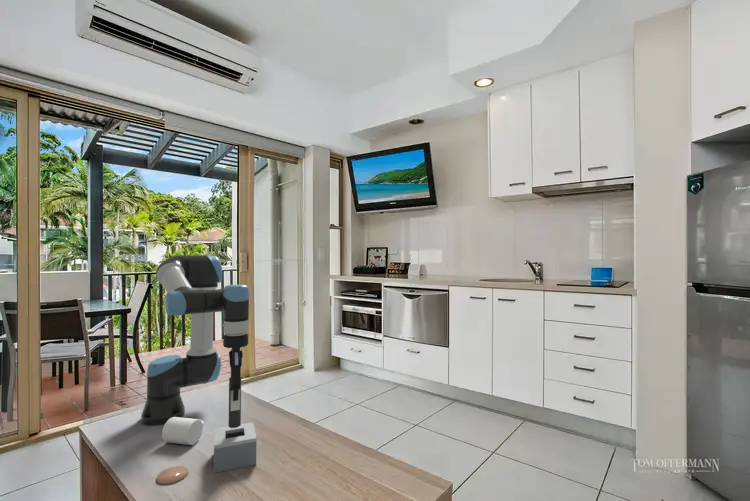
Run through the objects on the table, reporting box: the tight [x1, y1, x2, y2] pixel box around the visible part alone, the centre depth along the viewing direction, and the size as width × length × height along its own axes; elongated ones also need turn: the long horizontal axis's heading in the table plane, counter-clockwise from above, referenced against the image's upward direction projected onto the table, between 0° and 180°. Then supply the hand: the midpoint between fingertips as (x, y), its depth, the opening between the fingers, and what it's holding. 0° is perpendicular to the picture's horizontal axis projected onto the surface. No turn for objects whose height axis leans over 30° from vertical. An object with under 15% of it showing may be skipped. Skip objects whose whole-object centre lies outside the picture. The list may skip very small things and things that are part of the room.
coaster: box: [156, 465, 189, 485], centre depth 108 cm, size 8×8×1 cm
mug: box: [161, 417, 205, 446], centre depth 130 cm, size 12×10×8 cm
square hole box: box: [213, 421, 258, 474], centre depth 117 cm, size 12×12×8 cm
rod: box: [228, 376, 242, 428], centre depth 118 cm, size 4×4×15 cm
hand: (234, 407), depth 118 cm, fingers closed on rod, 3 cm apart
